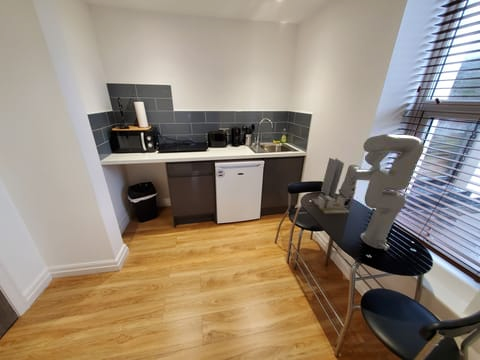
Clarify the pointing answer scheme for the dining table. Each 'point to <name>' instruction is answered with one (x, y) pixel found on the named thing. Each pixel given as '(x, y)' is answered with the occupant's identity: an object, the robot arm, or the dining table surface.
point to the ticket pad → (325, 201)
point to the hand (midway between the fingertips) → (343, 203)
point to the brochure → (332, 176)
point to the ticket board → (332, 208)
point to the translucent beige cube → (341, 200)
